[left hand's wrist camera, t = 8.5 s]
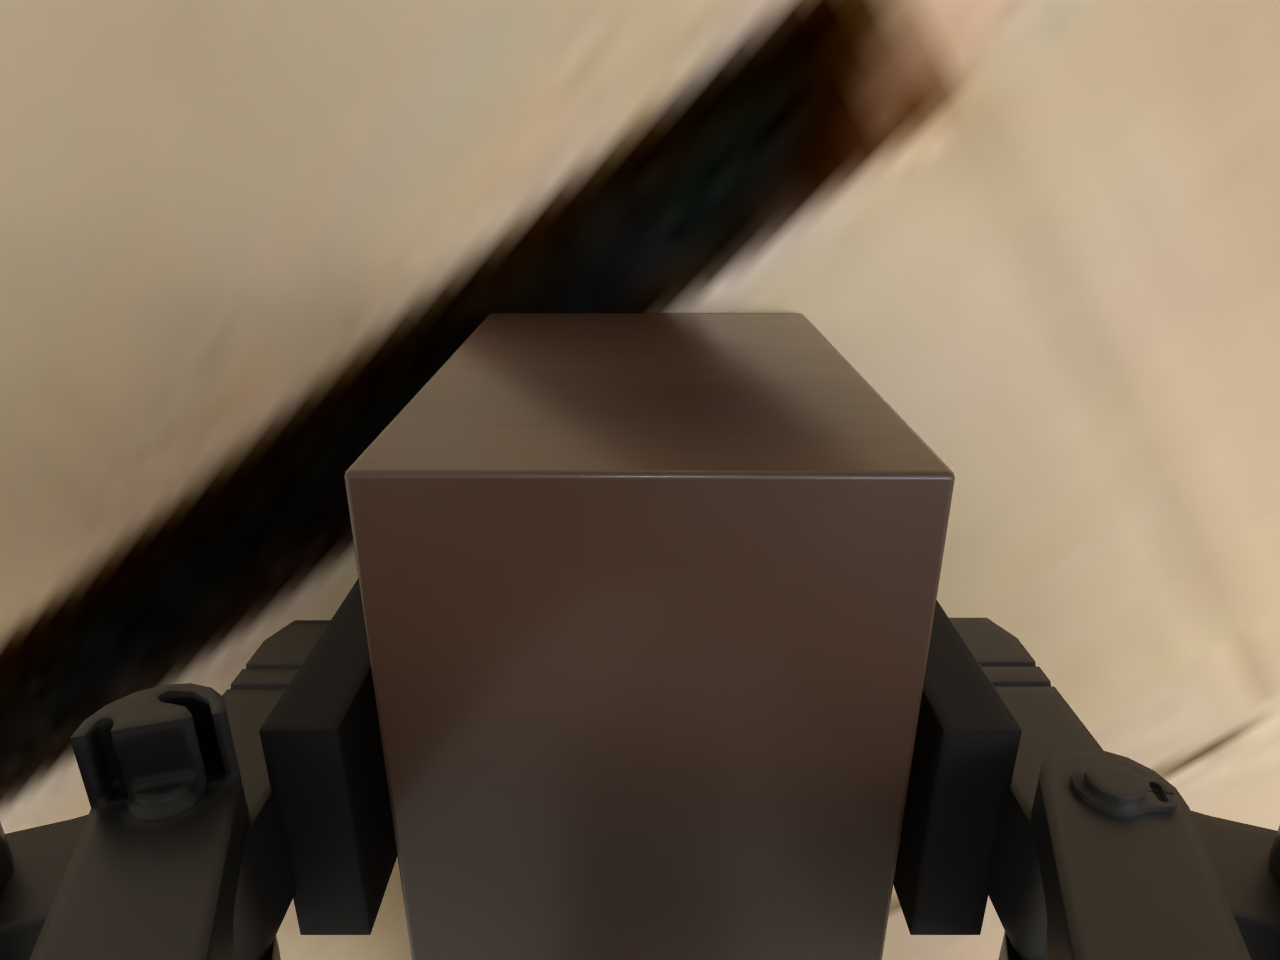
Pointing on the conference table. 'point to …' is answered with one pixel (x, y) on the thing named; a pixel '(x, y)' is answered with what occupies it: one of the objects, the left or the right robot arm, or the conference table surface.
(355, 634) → the left robot arm
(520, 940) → the plank
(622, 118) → the conference table surface
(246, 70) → the conference table surface
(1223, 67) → the conference table surface
